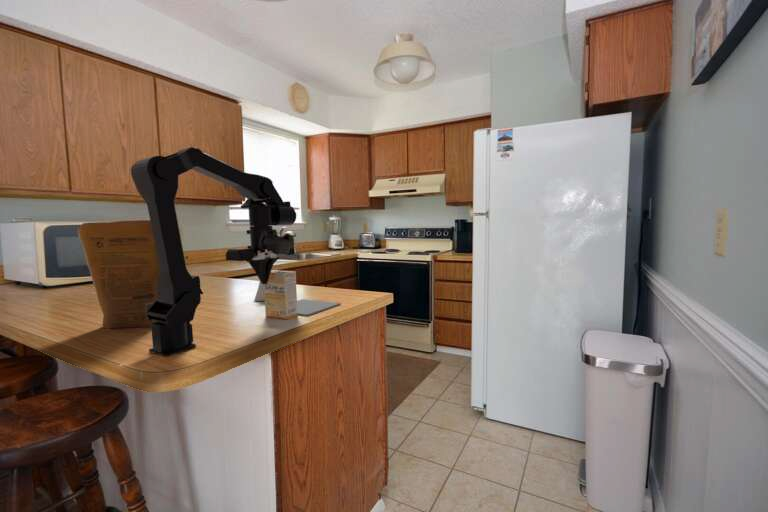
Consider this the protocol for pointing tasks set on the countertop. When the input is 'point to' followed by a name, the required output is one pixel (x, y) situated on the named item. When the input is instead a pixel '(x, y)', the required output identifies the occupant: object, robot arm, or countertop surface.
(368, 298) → the countertop surface
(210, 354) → the countertop surface
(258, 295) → the flask
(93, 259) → the pancake mix bag
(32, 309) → the countertop surface
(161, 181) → the robot arm
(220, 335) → the countertop surface
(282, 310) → the supplement box
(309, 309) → the mat
